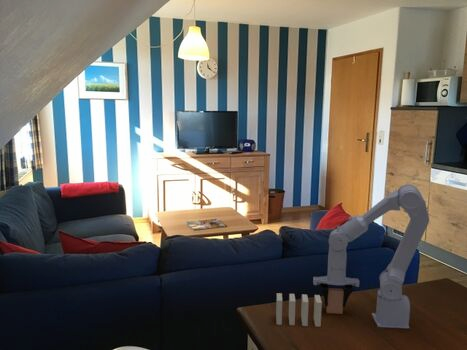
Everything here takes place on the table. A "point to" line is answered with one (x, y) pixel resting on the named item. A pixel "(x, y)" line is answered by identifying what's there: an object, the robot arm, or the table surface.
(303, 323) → the ivory domino
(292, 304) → the ivory domino
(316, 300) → the ivory domino
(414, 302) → the table surface
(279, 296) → the ivory domino
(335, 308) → the terracotta domino
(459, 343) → the table surface
